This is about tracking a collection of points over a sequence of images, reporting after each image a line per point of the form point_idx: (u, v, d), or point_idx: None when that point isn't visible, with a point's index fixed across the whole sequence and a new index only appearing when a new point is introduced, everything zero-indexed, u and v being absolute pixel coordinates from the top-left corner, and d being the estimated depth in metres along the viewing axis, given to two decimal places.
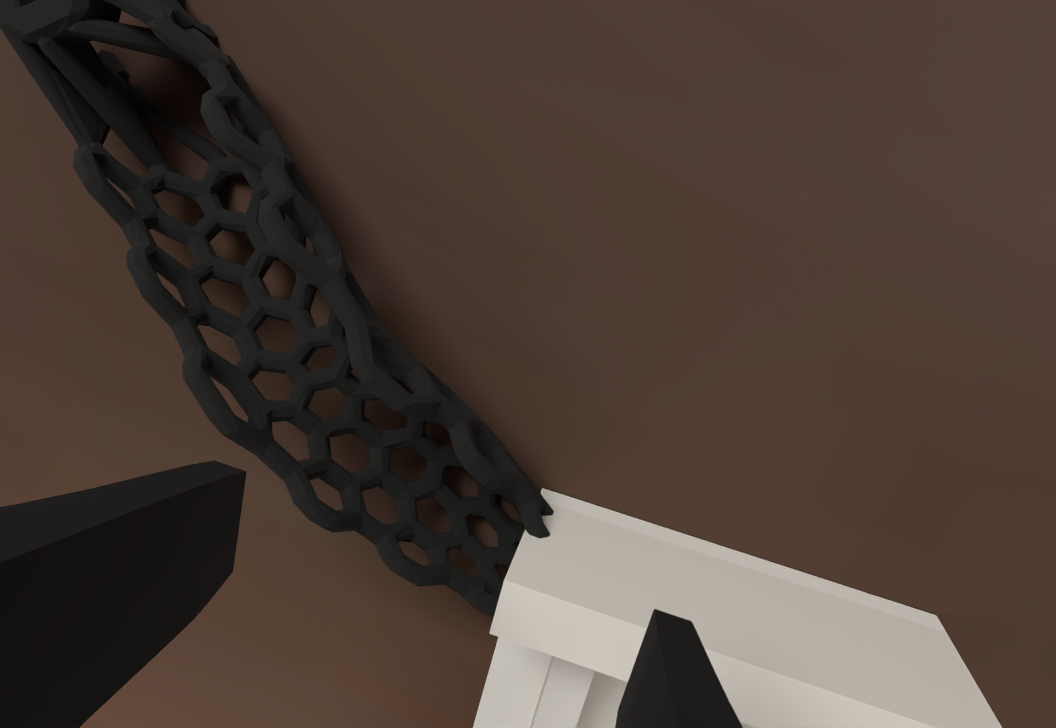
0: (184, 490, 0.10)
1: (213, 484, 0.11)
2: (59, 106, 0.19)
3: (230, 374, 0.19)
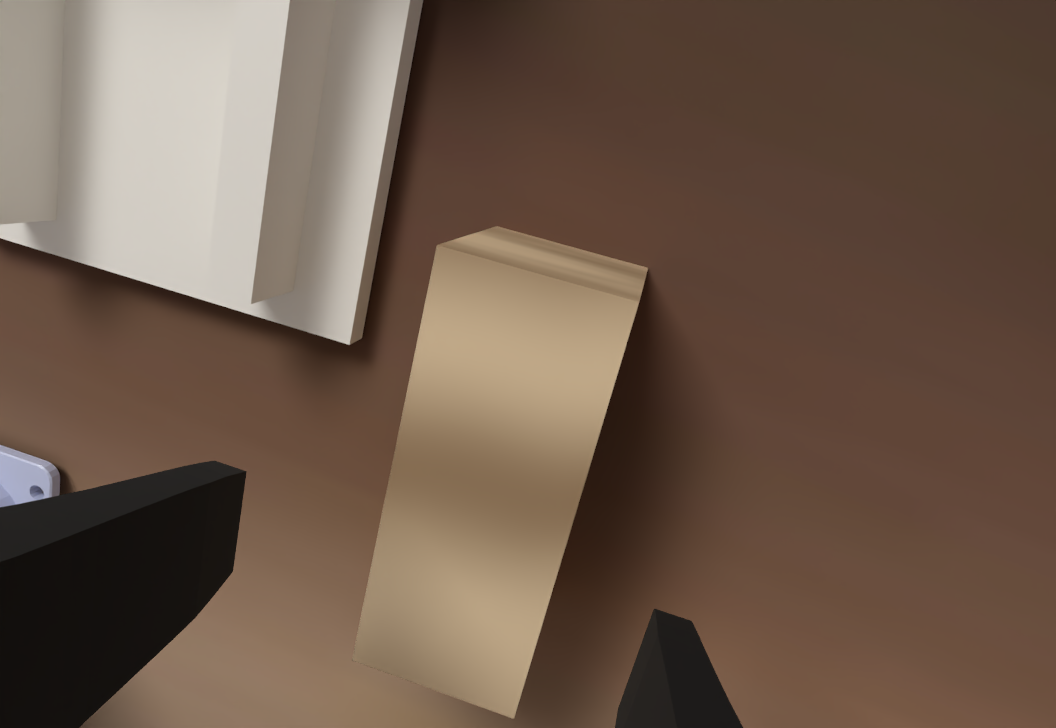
0: (184, 490, 0.10)
1: (213, 484, 0.11)
2: None
3: None
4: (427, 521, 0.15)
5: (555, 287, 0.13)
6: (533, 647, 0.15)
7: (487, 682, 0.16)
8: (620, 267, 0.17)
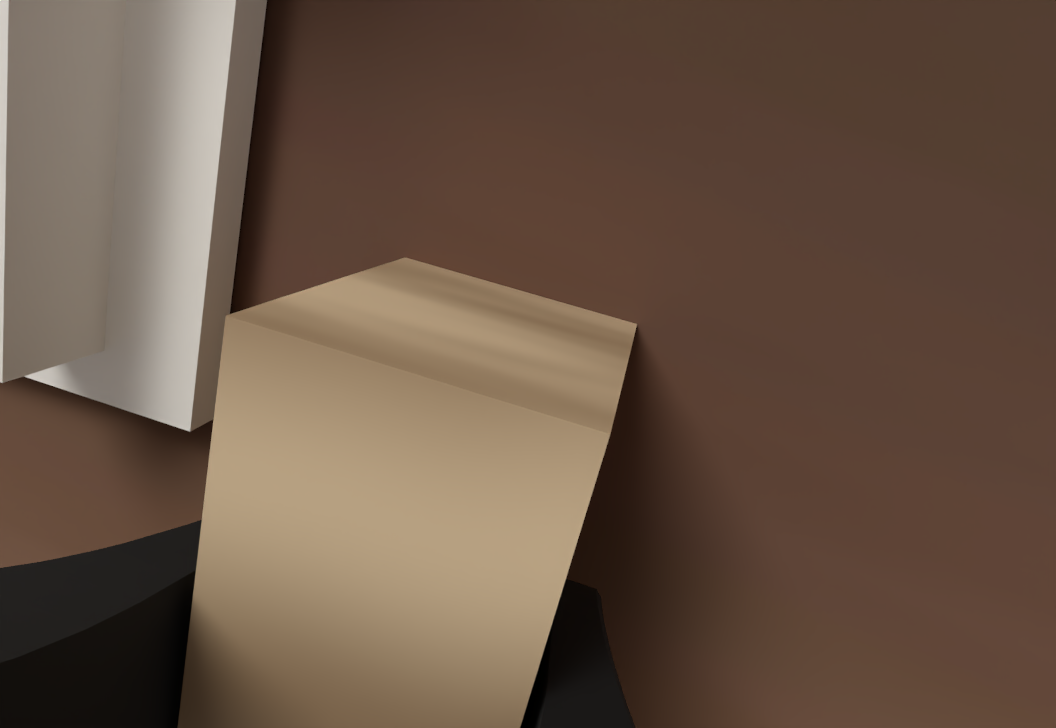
0: None
1: None
2: None
3: None
4: None
5: (449, 400, 0.07)
6: None
7: None
8: (589, 331, 0.10)
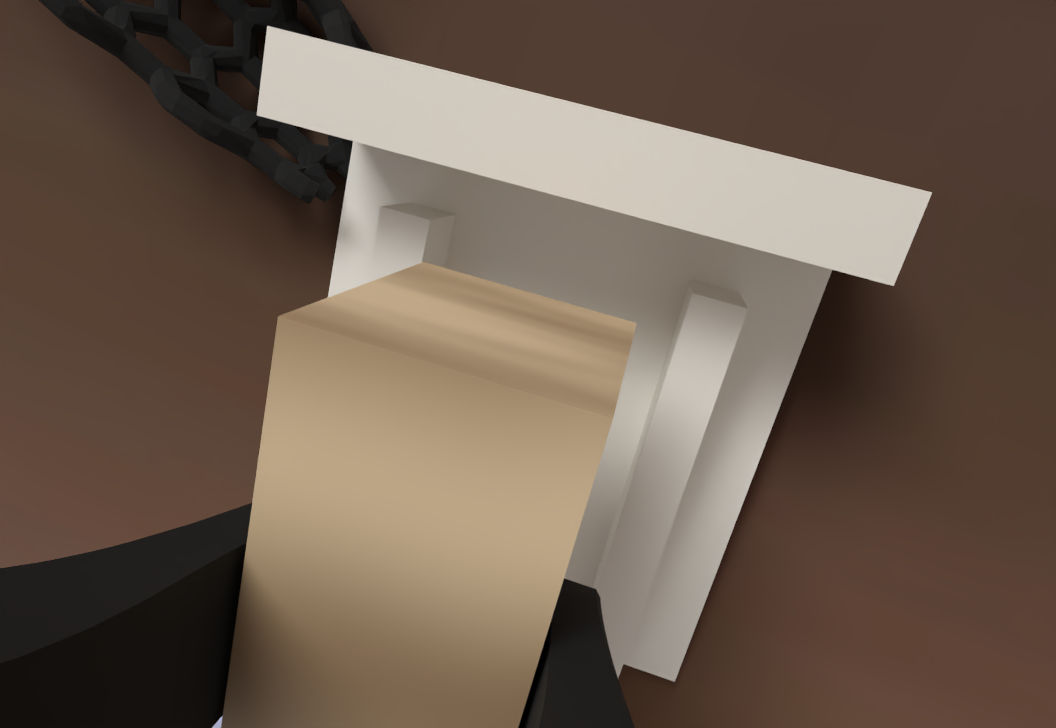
0: None
1: None
2: None
3: None
4: None
5: (473, 389, 0.08)
6: None
7: None
8: (593, 329, 0.11)
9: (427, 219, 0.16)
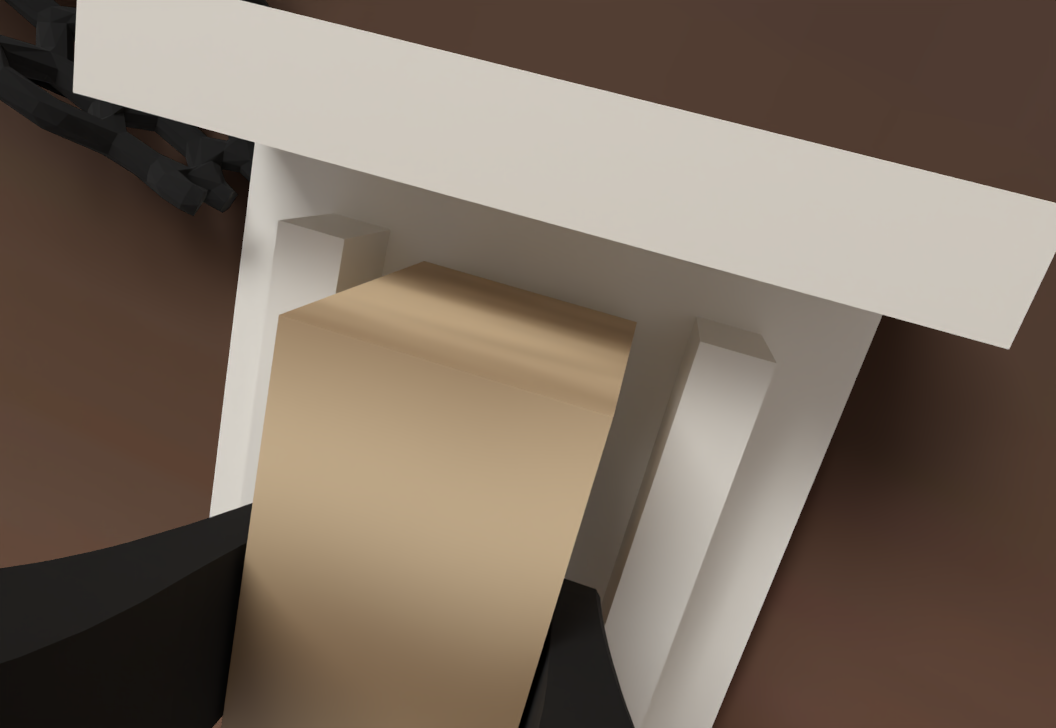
0: None
1: None
2: None
3: None
4: None
5: (474, 387, 0.08)
6: None
7: None
8: (594, 328, 0.11)
9: (341, 238, 0.12)
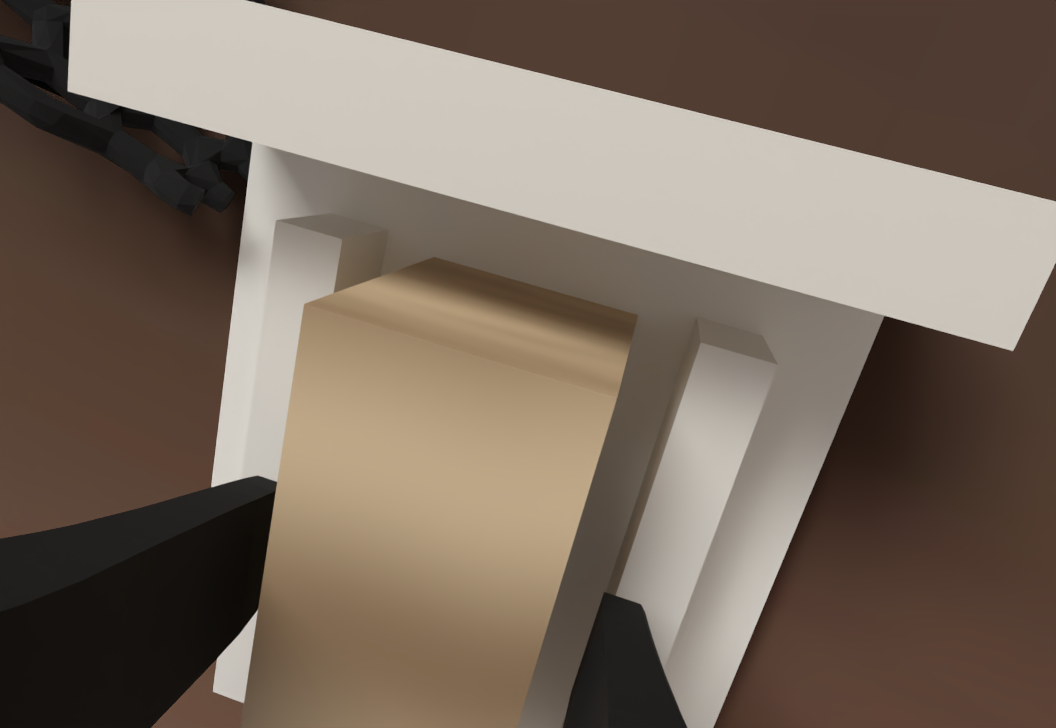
0: (234, 507, 0.10)
1: (260, 500, 0.11)
2: None
3: None
4: (310, 700, 0.10)
5: (487, 371, 0.08)
6: None
7: None
8: (597, 320, 0.12)
9: (338, 238, 0.12)
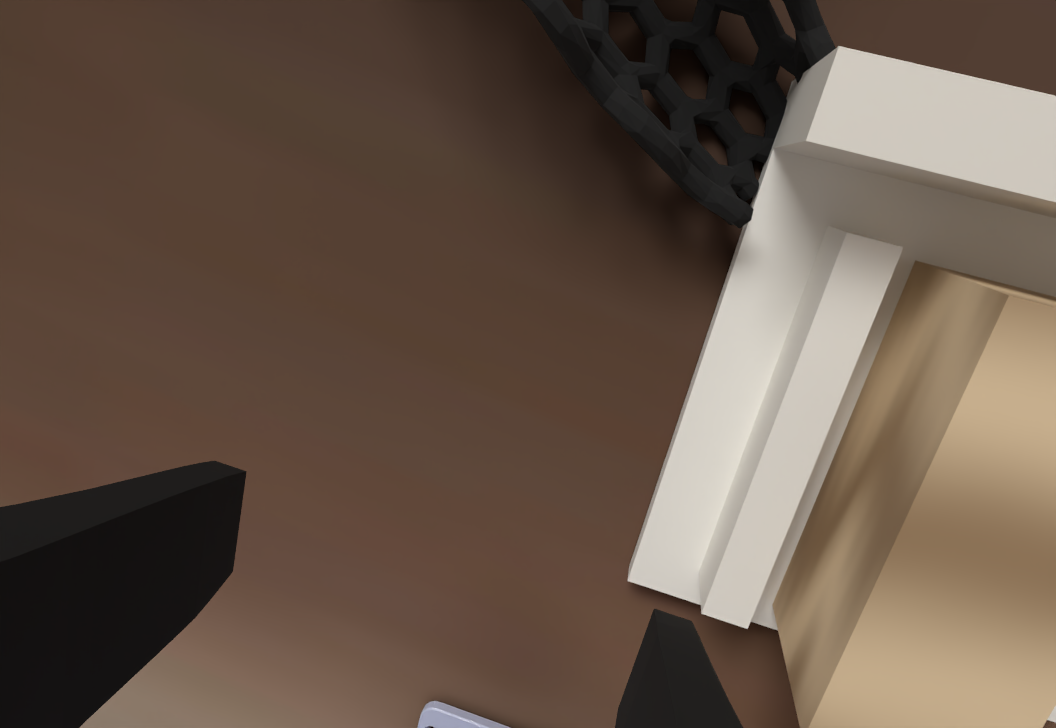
0: (184, 490, 0.10)
1: (213, 484, 0.11)
2: None
3: None
4: (930, 594, 0.14)
5: None
6: None
7: None
8: None
9: (899, 246, 0.15)
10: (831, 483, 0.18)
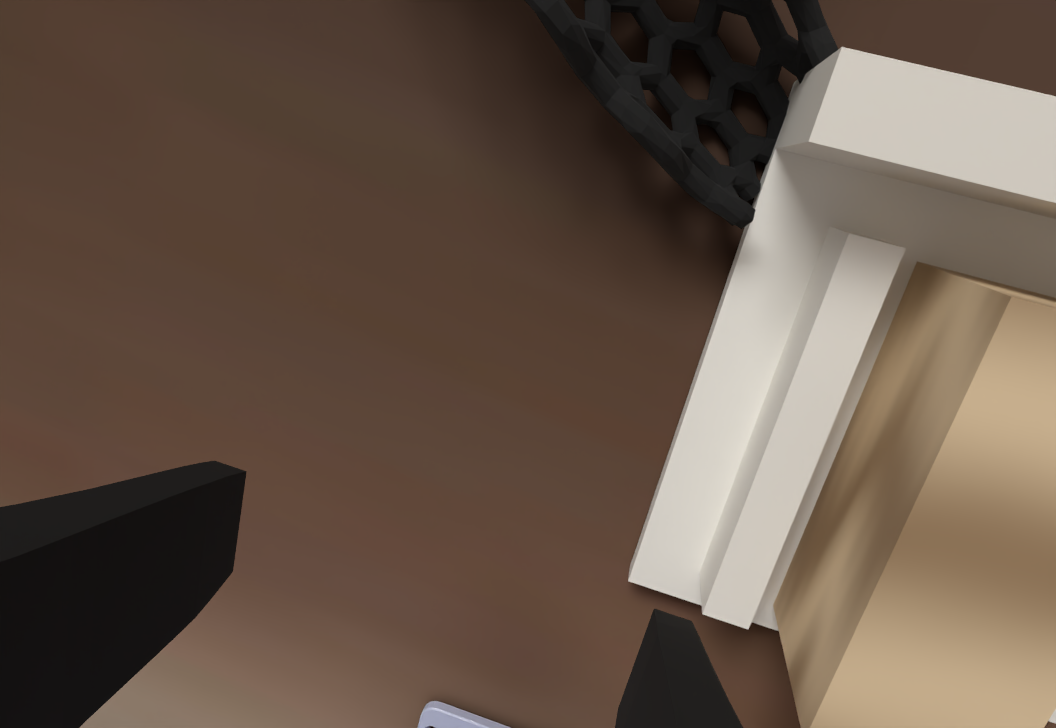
0: (184, 490, 0.10)
1: (213, 484, 0.11)
2: None
3: None
4: (932, 596, 0.14)
5: None
6: None
7: None
8: None
9: (901, 247, 0.15)
10: (832, 484, 0.18)
